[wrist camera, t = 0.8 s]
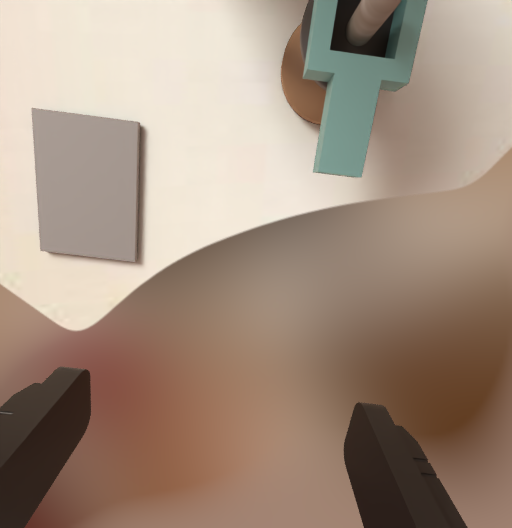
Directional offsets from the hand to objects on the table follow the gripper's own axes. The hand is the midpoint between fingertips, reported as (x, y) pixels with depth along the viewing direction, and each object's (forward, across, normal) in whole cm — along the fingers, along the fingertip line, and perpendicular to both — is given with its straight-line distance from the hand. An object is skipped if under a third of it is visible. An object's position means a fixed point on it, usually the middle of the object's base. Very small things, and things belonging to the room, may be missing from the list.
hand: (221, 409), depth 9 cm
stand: (+26, -6, -16) cm, 31 cm away
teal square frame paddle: (+17, -6, -13) cm, 22 cm away
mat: (+26, +17, -2) cm, 31 cm away
